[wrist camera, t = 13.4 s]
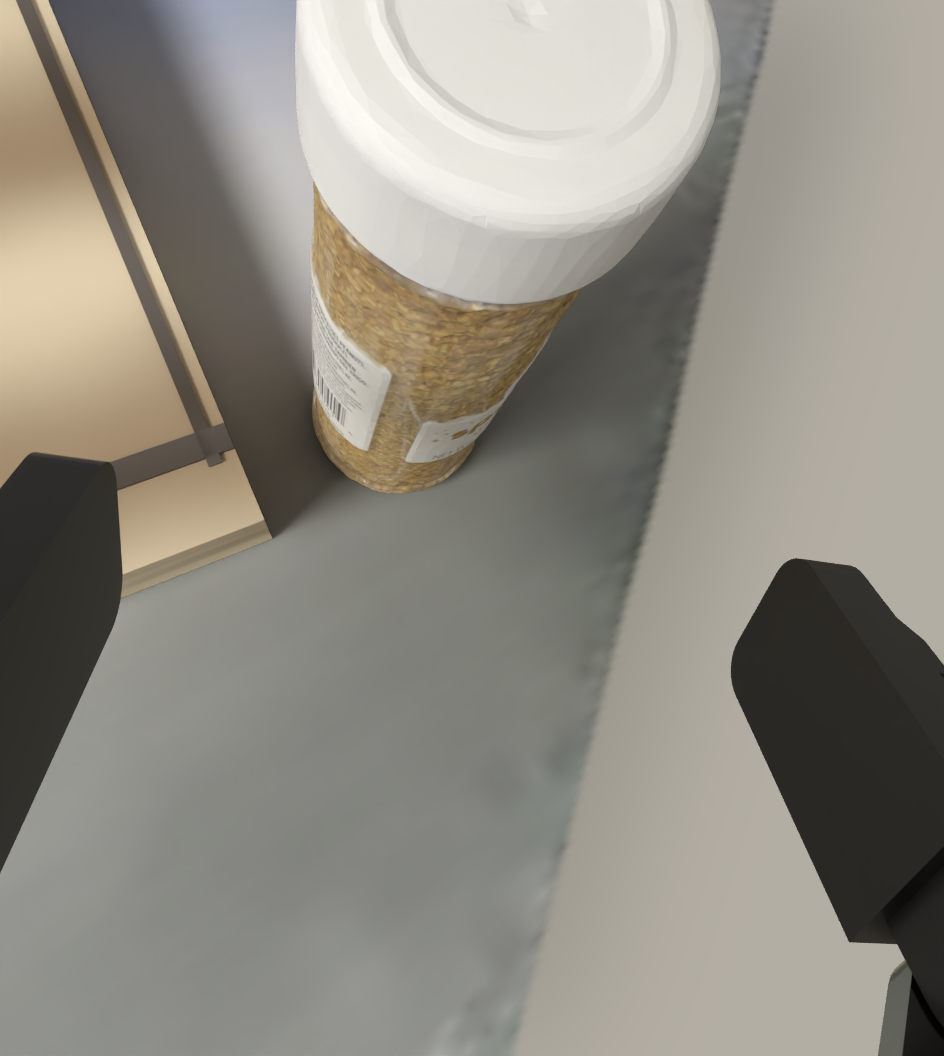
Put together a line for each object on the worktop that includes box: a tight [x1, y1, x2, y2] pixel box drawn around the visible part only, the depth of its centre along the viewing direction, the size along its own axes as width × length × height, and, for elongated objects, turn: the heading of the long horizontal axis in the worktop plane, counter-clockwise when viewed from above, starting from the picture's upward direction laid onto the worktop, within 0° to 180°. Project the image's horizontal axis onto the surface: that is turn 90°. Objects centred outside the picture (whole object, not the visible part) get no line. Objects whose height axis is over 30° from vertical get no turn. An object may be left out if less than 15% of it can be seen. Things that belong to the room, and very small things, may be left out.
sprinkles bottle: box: [295, 0, 721, 493], centre depth 14 cm, size 5×5×14 cm
